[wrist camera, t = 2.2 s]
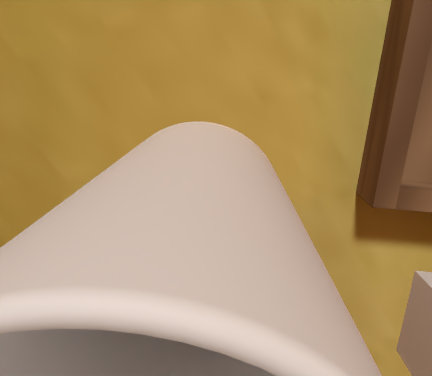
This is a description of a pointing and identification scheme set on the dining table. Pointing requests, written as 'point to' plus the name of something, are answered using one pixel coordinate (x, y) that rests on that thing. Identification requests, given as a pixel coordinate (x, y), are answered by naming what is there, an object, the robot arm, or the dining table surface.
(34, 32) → the dining table surface
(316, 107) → the dining table surface
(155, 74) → the dining table surface
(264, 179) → the cup
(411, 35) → the square wooden tray
